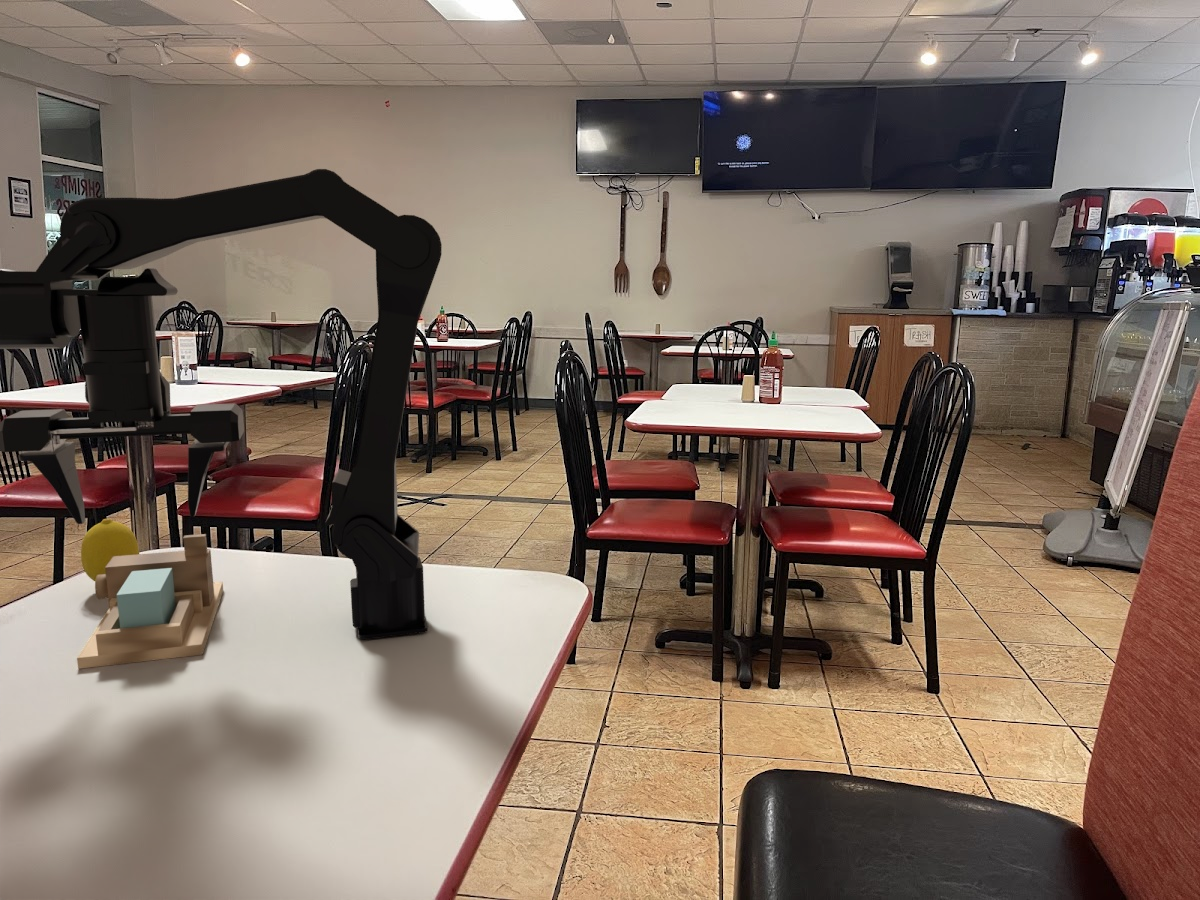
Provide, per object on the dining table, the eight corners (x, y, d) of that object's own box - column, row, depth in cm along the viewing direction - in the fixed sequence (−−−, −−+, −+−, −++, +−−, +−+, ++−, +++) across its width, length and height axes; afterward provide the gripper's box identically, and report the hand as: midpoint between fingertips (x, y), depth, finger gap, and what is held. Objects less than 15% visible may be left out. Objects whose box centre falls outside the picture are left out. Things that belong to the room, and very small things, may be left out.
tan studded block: (214, 594, 90) (208, 530, 88) (210, 606, 87) (204, 539, 85) (105, 604, 87) (97, 538, 85) (96, 617, 83) (88, 548, 82)
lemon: (125, 598, 91) (117, 526, 90) (74, 597, 91) (65, 525, 90) (152, 580, 97) (145, 512, 95) (104, 579, 97) (96, 511, 95)
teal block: (176, 616, 84) (171, 567, 83) (165, 642, 78) (159, 590, 77) (137, 620, 83) (131, 571, 82) (122, 647, 77) (116, 594, 76)
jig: (223, 590, 94) (221, 564, 93) (202, 654, 78) (199, 623, 77) (121, 599, 91) (118, 573, 90) (78, 668, 75) (74, 636, 74)
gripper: (243, 340, 85) (254, 491, 88) (28, 343, 80) (48, 504, 83) (231, 349, 75) (244, 520, 78) (-17, 353, 69) (8, 537, 72)
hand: (138, 519), depth 78 cm, fingers open, 9 cm apart
